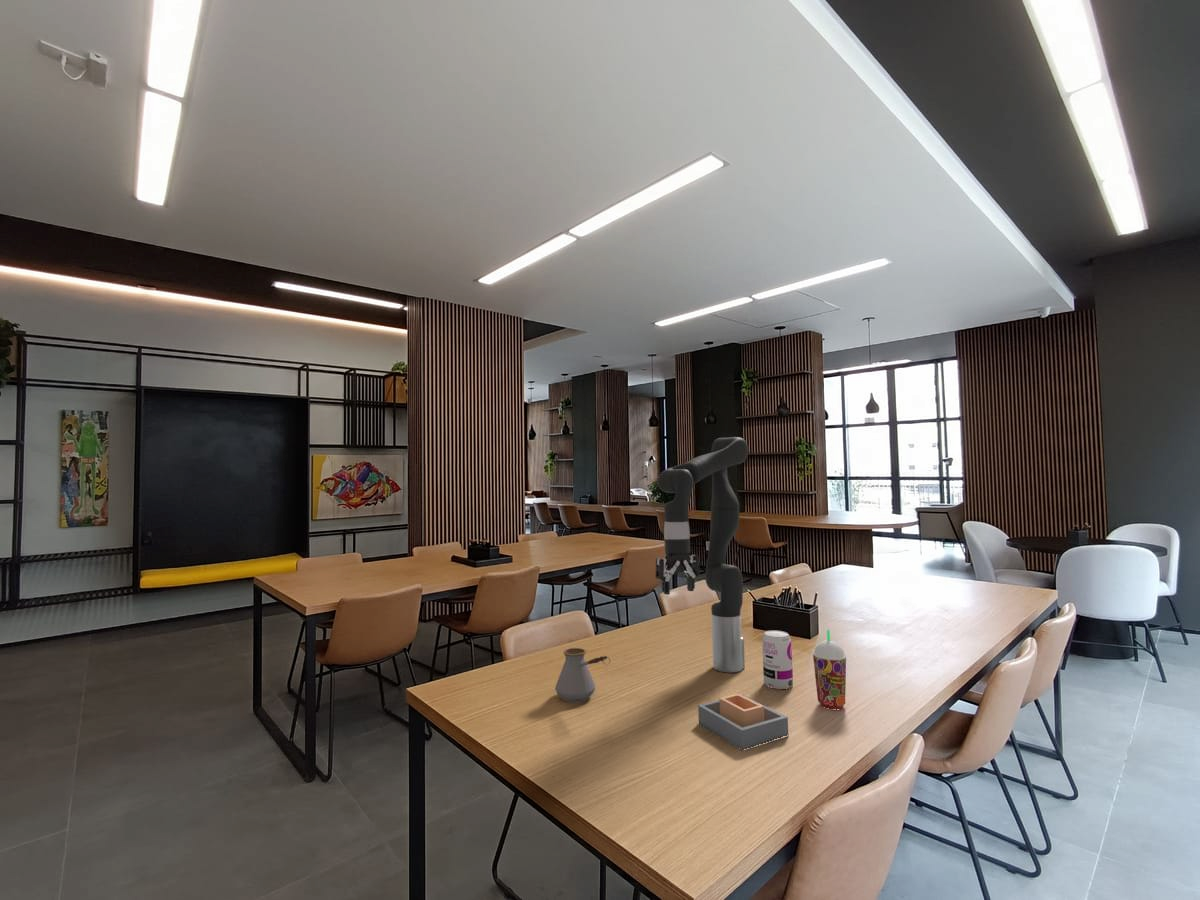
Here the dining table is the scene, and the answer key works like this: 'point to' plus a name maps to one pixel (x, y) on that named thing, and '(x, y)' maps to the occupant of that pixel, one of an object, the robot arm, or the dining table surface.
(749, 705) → the terracotta crate
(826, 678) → the smoothie
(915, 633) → the dining table surface
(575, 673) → the coffee pot
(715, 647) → the robot arm
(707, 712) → the grey crate
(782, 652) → the supplement can
